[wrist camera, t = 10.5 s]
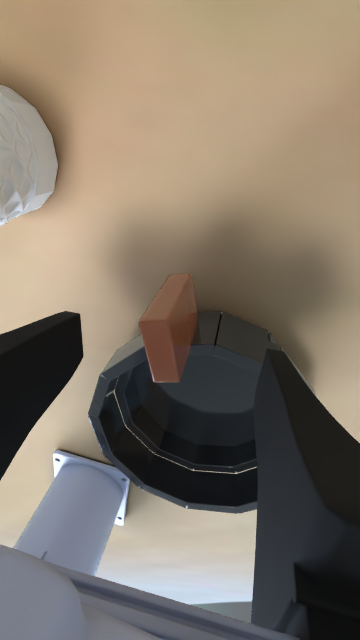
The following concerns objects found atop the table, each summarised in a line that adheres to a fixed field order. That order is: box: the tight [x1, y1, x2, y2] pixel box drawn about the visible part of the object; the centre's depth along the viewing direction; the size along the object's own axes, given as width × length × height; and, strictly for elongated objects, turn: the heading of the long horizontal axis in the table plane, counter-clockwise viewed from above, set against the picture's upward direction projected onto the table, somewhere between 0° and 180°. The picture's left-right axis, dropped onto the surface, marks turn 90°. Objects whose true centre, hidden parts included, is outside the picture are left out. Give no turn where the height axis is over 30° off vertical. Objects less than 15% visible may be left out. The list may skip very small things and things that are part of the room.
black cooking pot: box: [88, 273, 315, 514], centre depth 19 cm, size 16×13×8 cm
